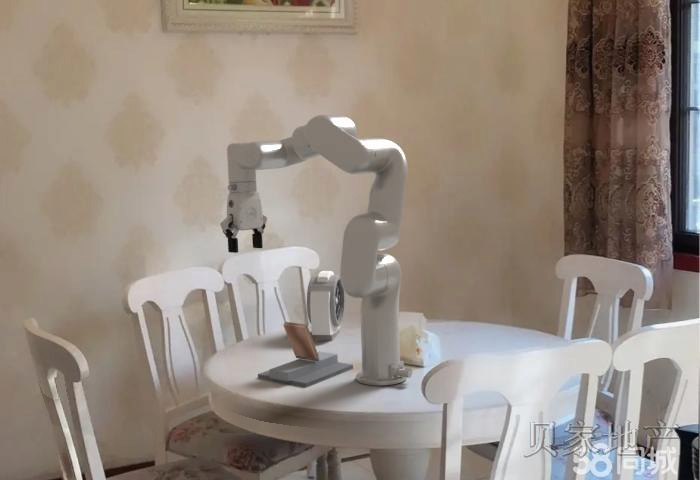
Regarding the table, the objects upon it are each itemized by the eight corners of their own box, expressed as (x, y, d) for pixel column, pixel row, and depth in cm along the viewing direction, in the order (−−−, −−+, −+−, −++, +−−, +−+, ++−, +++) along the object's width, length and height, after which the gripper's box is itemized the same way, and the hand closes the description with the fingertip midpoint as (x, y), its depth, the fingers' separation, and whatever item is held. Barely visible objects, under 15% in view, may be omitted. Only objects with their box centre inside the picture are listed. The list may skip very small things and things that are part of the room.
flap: (317, 362, 215) (319, 359, 216) (304, 327, 210) (307, 324, 211) (296, 359, 219) (298, 356, 220) (283, 324, 214) (285, 321, 215)
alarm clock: (334, 343, 248) (332, 276, 245) (306, 343, 249) (304, 276, 247) (346, 330, 265) (344, 267, 263) (320, 329, 267) (318, 267, 264)
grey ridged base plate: (353, 368, 220) (352, 356, 220) (304, 388, 204) (303, 375, 204) (305, 360, 230) (305, 349, 229) (255, 379, 213) (254, 366, 213)
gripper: (230, 190, 220) (233, 255, 222) (274, 186, 233) (276, 247, 235) (210, 190, 224) (213, 253, 226) (254, 186, 238) (257, 245, 240)
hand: (245, 250), depth 231 cm, fingers open, 9 cm apart
